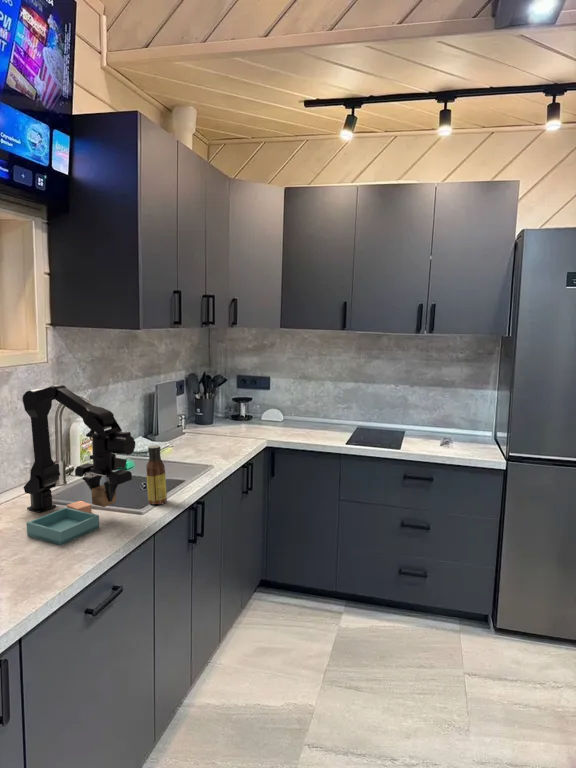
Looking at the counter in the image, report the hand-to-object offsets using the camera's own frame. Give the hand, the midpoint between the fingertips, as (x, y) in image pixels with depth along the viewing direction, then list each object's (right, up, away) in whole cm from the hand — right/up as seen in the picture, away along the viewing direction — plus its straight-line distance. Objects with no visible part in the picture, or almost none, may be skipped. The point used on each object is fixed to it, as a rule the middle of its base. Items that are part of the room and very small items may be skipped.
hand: (104, 499), depth 168 cm
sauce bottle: (+13, -5, +16) cm, 21 cm away
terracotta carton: (-10, -6, +6) cm, 13 cm away
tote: (-9, -7, -9) cm, 15 cm away
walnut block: (0, -1, 0) cm, 1 cm away
